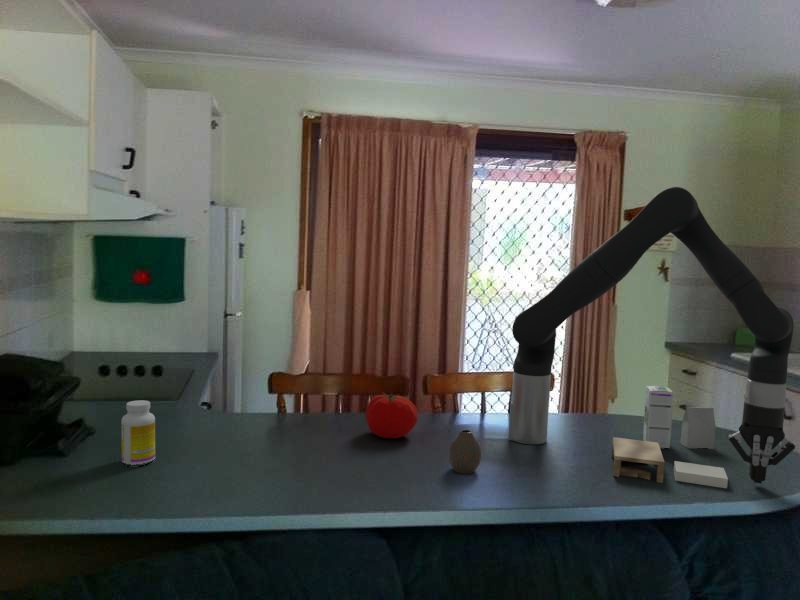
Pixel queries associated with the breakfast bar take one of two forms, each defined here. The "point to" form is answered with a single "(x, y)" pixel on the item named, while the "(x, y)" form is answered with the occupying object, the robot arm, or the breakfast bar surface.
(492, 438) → the breakfast bar surface
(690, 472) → the tile
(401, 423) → the tomato
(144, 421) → the supplement bottle
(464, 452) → the vase
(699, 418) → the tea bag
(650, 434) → the syrup box
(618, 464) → the small tan table
